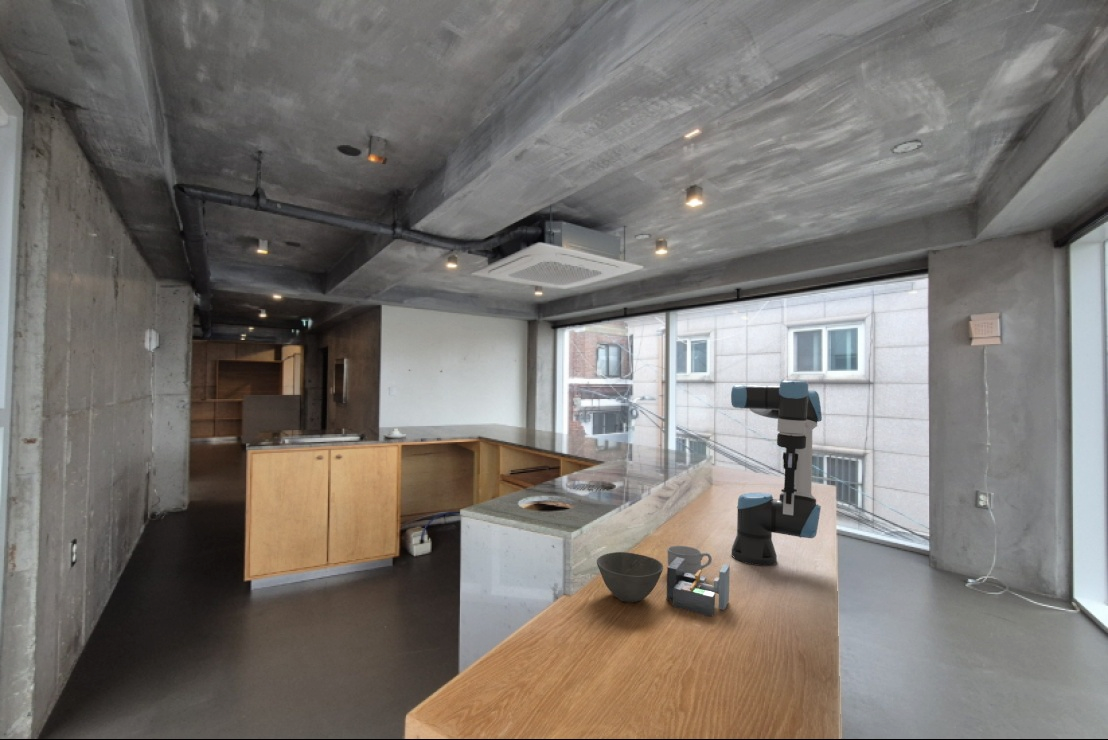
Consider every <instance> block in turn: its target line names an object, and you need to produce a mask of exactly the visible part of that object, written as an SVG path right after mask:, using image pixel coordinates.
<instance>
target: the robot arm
mask: <svg viewBox="0 0 1108 740" xmlns="http://www.w3.org/2000/svg"><path fill="white" fill-rule="evenodd" d="M730 402H731V406H732V407H733V408H737V409H746V410H747V409H749V410H750V411H751V412H752V413H754V414H755V415H759V416H761V417H764V418H767V419H768V418H769V419H774V420H776V419H777V430H776V431H777V432H779V433H778V434H777V437H776V445H777V446H778V447H780V448H784V449H785V451H783V454H782V460H783V465H782V466H783V469H784V487H783V488H781V491H780V492H781V493H780V494H779V498H778V499H775V498H774V497H773V495H772V494H771V493H767V492H747V493H743V494H741V495H739V497H738V499H737V500H738V501H737V506H736V508H737V524H736V525H737V527H736V536H735V539H734V541H733V545H732V546H731V547H732V548H731V556H732V555H733V556H734V557H735V558H736V559H735V558H734V557H733V556H732V557H733V558H734V559H735V560H737V559H738V561H739V560H740V561H739V562H742V561H743V563H745V562H746V563H745V564H749V565H754V566H763V567H765V566H766V567H767V566H774V565H776V564H777V561H778V560H777V552H776V549H775V546H774V543H773V538H772V534H773V533H774V534H779V535H785V536H787V535H788V536H792V537H797V538H798V537H799V538H801V539H802V538H804V539H814V538H815V537H816V536H817V534H818V527H819V521H820V515H821V507H822V506H821V505H819V504H817V499H816V497H815V496H814V495H813V494H812V486H813V485H812V479H813V475H812V470H813V430H814V429H815V428H817V427H818V422H821V421H823V419H822V415H823V414H822V409H821V408H822V407H821V401H820V395H819V393H818V392H817V391H816V390H810V389H809V384H808V382H807V381H802V380H782V381H780V382H779V385H750V384H746V385H745V384H741V385H740V384H739V385H736V384H735V385H733V386H732V387H731V393H730Z"/></svg>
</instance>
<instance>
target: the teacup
mask: <svg viewBox="0 0 1108 740" xmlns="http://www.w3.org/2000/svg"><path fill="white" fill-rule="evenodd" d="M666 551H667V565H668V566H669V565H670V564H671V563H672V562H673V561H674V560H675V559H676V558H677V557H679V558H684V559H685V573H690V574H696V573H697V572H698V570H702V571H703V569H705V568H707V567H708V566H709V565H710V564H712V559H713V558H712V556H711V554H710V553H708V552H705V551H704V552H702V551H701V550H700V549H698V548H695V547H692V546H686V545H672V546H669V547H667V548H666ZM704 557H708V560H707V562H705V563H702V561H703V558H704ZM668 566H667V567H668Z"/></svg>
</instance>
